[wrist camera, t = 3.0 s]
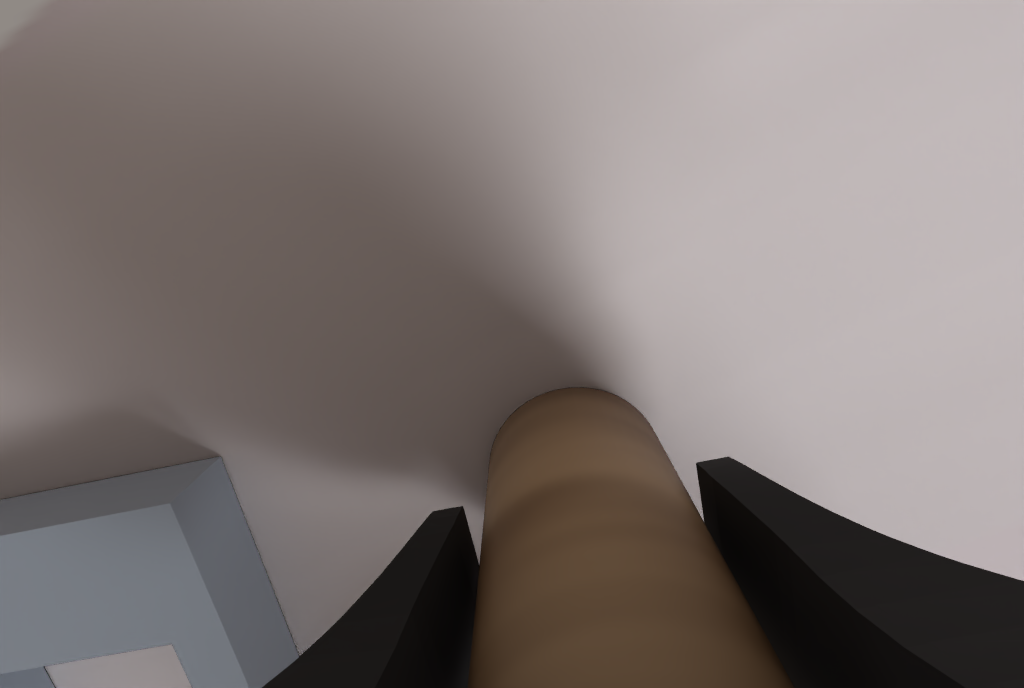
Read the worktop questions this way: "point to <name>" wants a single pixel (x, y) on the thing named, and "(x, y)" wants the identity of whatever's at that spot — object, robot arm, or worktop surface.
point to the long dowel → (603, 562)
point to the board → (138, 579)
